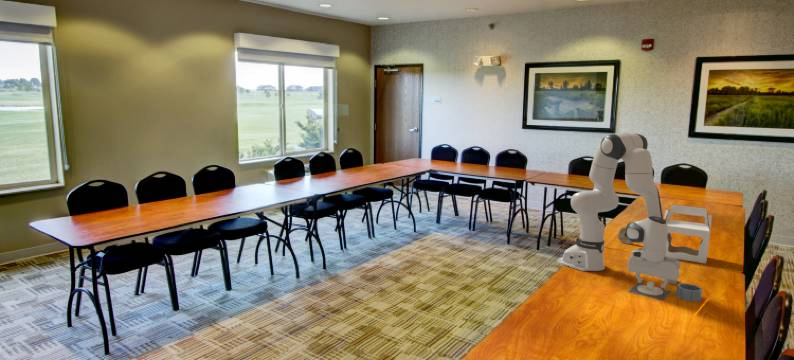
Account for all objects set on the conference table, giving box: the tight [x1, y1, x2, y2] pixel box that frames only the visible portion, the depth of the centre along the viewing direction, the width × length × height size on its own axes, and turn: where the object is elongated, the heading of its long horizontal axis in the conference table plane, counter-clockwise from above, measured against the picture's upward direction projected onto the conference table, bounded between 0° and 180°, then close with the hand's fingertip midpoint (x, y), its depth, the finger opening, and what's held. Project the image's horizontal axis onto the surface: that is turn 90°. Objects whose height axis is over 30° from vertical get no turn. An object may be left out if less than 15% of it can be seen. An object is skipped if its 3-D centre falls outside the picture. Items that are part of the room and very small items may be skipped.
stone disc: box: [617, 226, 635, 245], centre depth 298 cm, size 10×4×10 cm, turn 41°
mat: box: [627, 282, 672, 301], centre depth 222 cm, size 14×14×1 cm
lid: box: [637, 281, 663, 296], centre depth 222 cm, size 10×10×4 cm
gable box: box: [663, 204, 713, 264], centre depth 272 cm, size 22×13×28 cm, turn 57°
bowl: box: [675, 282, 703, 302], centre depth 216 cm, size 9×9×5 cm
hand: (651, 285), depth 221 cm, fingers open, 8 cm apart
